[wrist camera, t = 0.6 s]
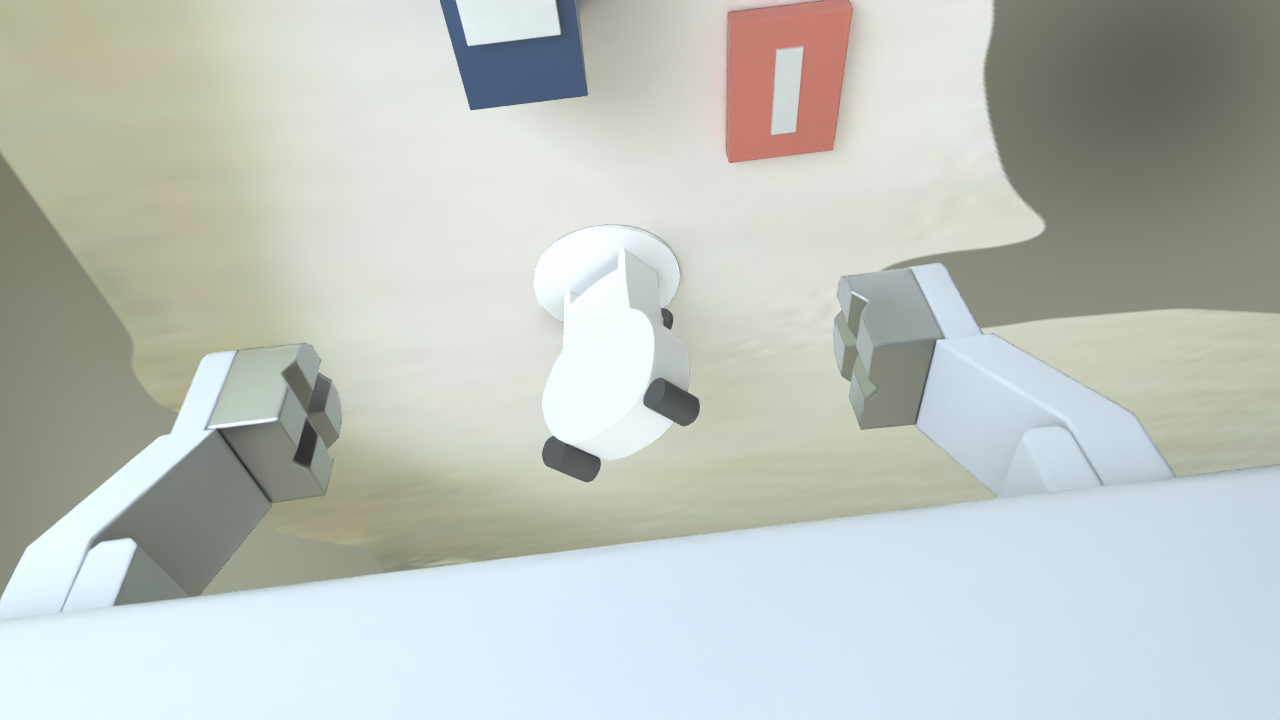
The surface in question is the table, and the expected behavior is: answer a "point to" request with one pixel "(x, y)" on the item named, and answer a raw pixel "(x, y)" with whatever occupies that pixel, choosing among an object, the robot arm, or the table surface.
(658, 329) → the panda figurine
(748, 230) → the table surface
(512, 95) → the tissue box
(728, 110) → the tissue packet
